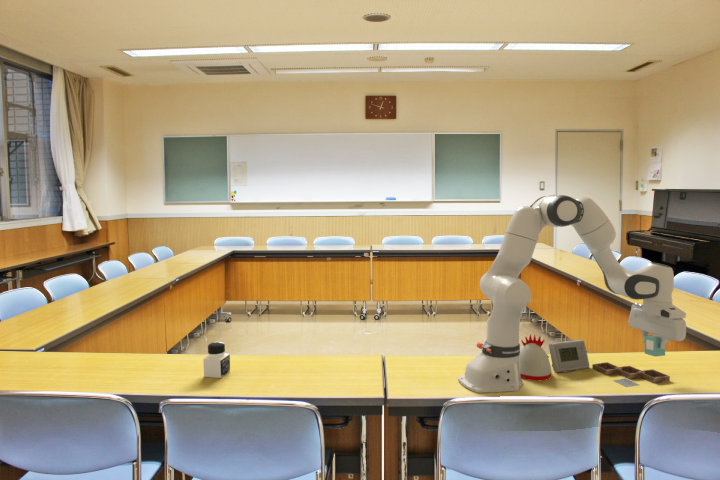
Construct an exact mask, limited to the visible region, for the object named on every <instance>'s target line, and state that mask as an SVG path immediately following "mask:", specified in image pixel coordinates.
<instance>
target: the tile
mask: <svg viewBox="0 0 720 480" xmlns="http://www.w3.org/2000/svg"><path fill="white" fill-rule="evenodd" d="M612 382H615V383H617V384H619V385H621V386H623V387H625V388H629V387H636V386H640V384H639V383H637V382H635V381H632V380H631V379H628V378H621V379H615V380H614V379H613V380H612Z"/></svg>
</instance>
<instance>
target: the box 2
mask: <svg viewBox="0 0 720 480" xmlns="http://www.w3.org/2000/svg"><path fill="white" fill-rule="evenodd" d="M618 368H622V370H620V369H618ZM615 369H618V374H617V375H619V376H621V377H623V378H625V379H628V380H635V379H642V378H641V373H644V374H645V372H644V370H640V369H638V368H637V367H634V366H631V365H626V366H625V365H624V366H617V367H616V368H615ZM638 371H642V372H639V373H638Z"/></svg>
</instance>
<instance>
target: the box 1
mask: <svg viewBox="0 0 720 480" xmlns="http://www.w3.org/2000/svg"><path fill="white" fill-rule="evenodd" d="M591 367H592V370H594V371H596V372H598V373H601V374H603V375H604V376H611V375H612V376H613V375H619V374H618V369H620V370H622V368H618V369H615V368H616V367H618V366H617V365H615V364H613V363H610V362H608V361H607V362H606V361H605V362H601V363H600V362H599V363H592V366H591Z"/></svg>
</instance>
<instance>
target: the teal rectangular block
mask: <svg viewBox="0 0 720 480" xmlns="http://www.w3.org/2000/svg"><path fill="white" fill-rule="evenodd" d="M661 342H662V339H661V336H658V335H655V334H648V335H647V336H645V343H644V354H646V355H648V356H652V357H657V358H658V357H664V356H666V348H665V349H660V348H658V343H661Z"/></svg>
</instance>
